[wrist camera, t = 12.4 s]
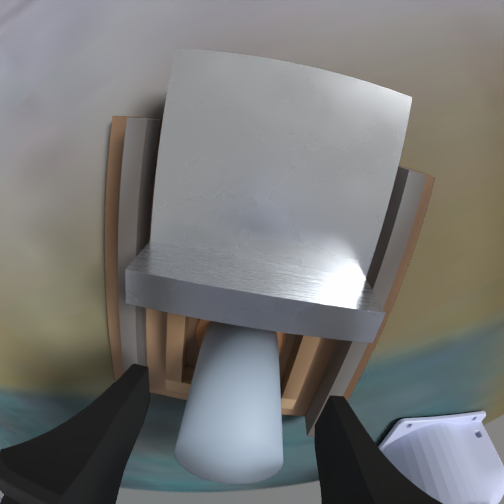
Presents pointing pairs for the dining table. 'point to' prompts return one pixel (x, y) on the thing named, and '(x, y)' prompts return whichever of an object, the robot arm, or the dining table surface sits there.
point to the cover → (270, 196)
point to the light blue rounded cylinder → (233, 407)
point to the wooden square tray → (192, 329)
